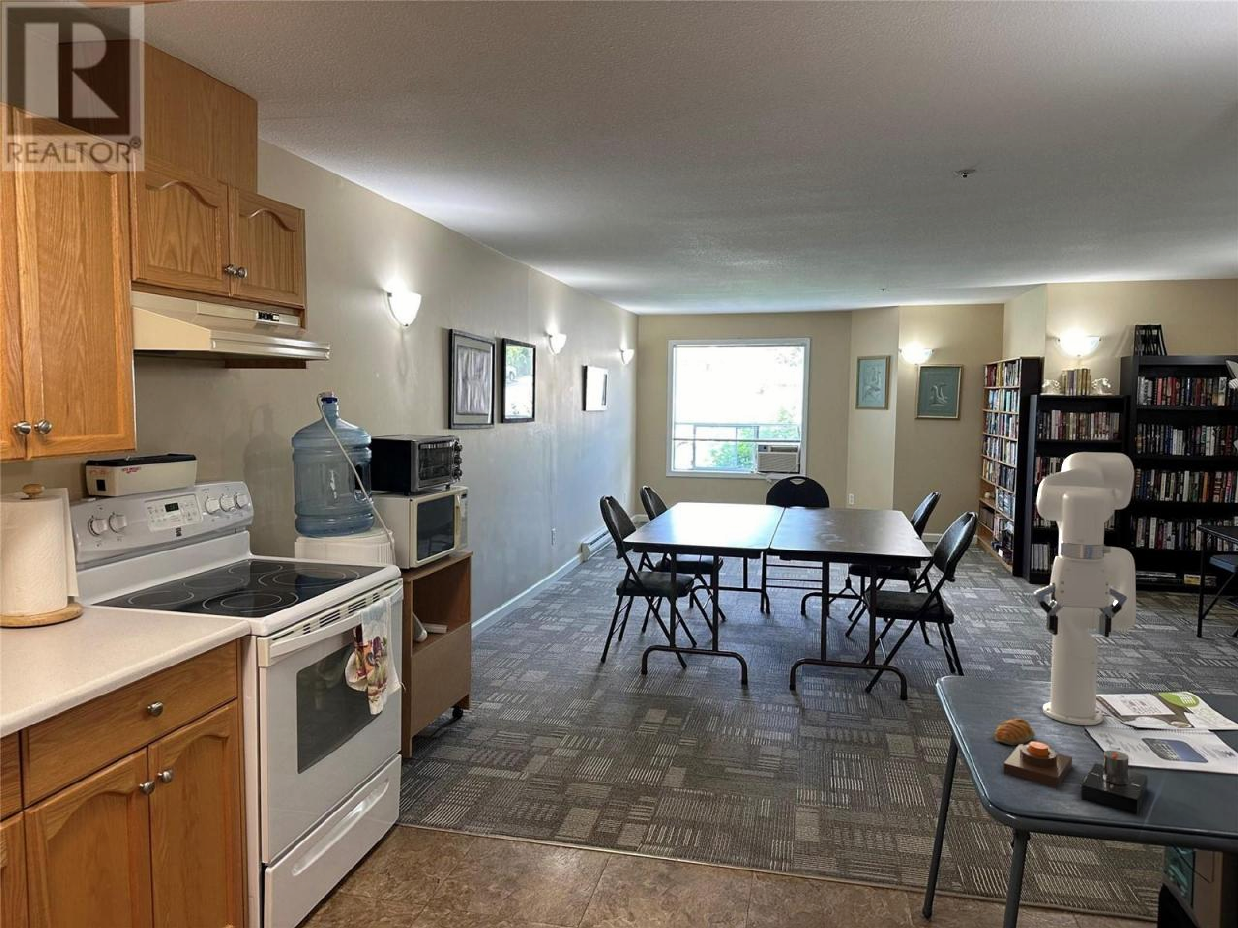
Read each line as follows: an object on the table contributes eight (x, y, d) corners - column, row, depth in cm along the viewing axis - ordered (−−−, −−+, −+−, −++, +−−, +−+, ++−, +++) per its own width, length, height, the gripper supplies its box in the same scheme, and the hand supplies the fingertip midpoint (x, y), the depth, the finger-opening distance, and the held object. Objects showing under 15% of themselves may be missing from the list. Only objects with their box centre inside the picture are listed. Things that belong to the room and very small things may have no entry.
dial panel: (1094, 776, 165) (1095, 761, 164) (1146, 790, 159) (1147, 774, 159) (1081, 799, 156) (1082, 783, 155) (1136, 815, 150) (1137, 798, 150)
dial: (1105, 773, 160) (1106, 746, 159) (1129, 779, 157) (1130, 752, 157) (1101, 780, 157) (1102, 753, 156) (1125, 786, 154) (1126, 759, 154)
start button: (1031, 747, 170) (1031, 739, 170) (1050, 752, 168) (1050, 744, 168) (1026, 753, 167) (1026, 745, 167) (1045, 758, 165) (1046, 750, 165)
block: (1019, 753, 176) (1020, 735, 175) (1071, 766, 169) (1072, 748, 169) (1003, 773, 167) (1004, 754, 166) (1057, 788, 160) (1058, 768, 160)
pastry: (1016, 750, 177) (1016, 733, 177) (986, 740, 182) (986, 723, 182) (1036, 738, 183) (1036, 722, 183) (1006, 729, 188) (1006, 713, 188)
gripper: (1119, 549, 168) (1115, 631, 169) (1029, 547, 170) (1026, 627, 171) (1136, 556, 160) (1132, 641, 161) (1042, 553, 163) (1039, 637, 164)
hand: (1078, 634), depth 166 cm, fingers open, 9 cm apart
